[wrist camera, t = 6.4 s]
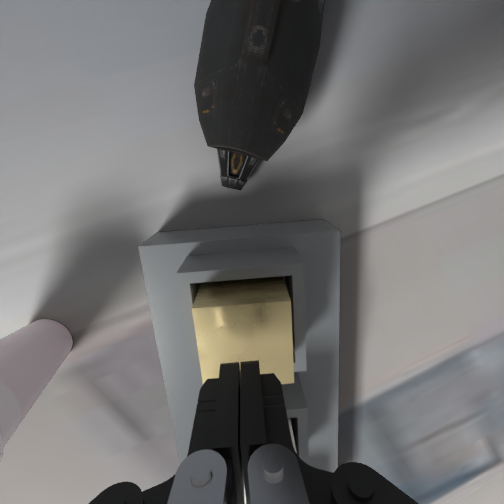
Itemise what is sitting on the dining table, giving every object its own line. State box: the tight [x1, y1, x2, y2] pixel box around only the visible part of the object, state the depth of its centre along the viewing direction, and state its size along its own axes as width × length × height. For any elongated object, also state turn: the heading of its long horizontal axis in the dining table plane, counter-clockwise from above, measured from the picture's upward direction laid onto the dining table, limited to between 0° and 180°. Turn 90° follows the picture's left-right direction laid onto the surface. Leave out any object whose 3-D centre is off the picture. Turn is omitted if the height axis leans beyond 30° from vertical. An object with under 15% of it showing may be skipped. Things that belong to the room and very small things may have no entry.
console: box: [138, 219, 340, 473], centre depth 21 cm, size 12×26×7 cm, turn 4°
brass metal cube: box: [192, 276, 294, 384], centre depth 15 cm, size 4×4×3 cm
